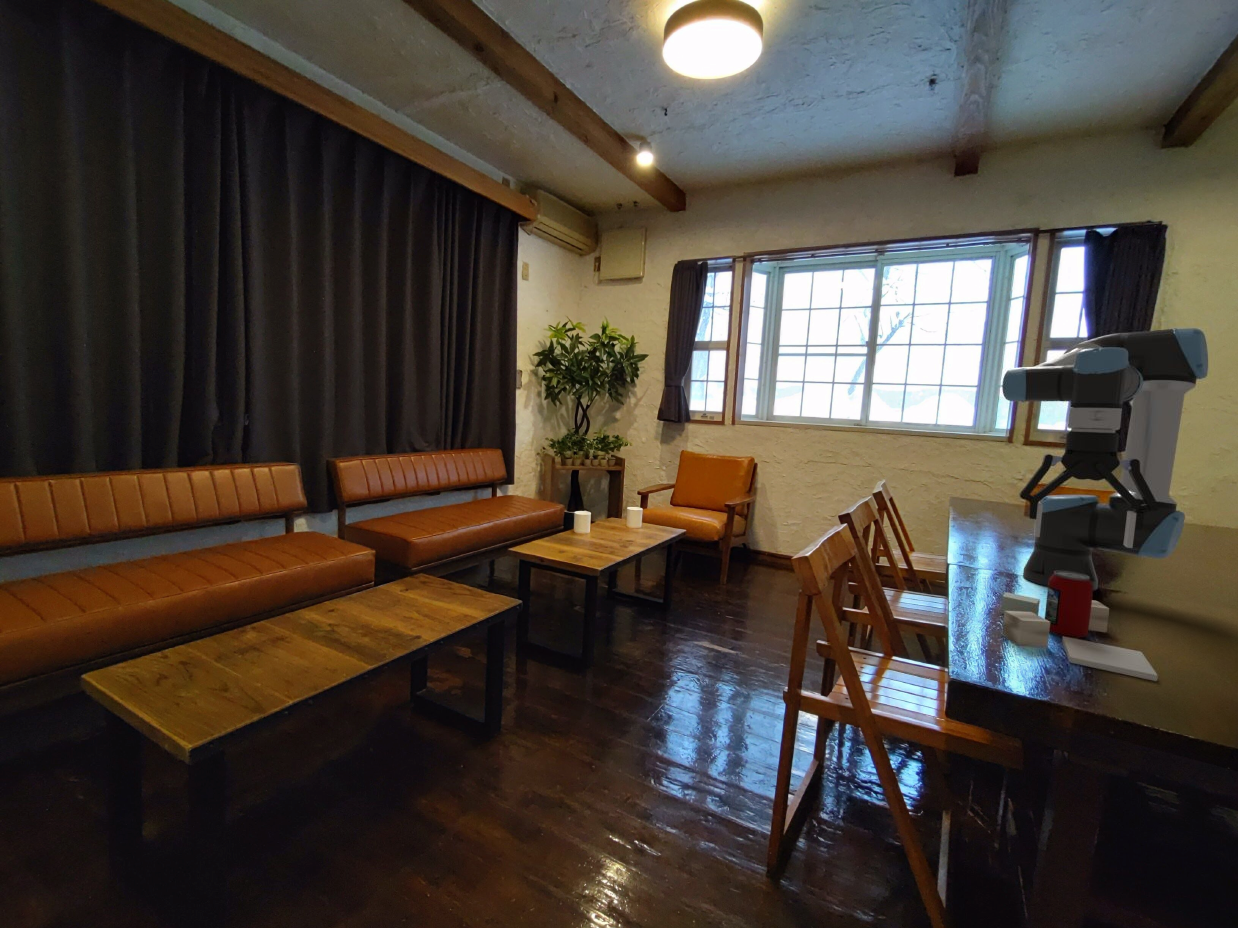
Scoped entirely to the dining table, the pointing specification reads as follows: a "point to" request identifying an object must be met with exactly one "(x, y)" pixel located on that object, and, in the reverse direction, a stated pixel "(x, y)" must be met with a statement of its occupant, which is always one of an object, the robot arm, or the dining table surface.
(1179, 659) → the dining table surface
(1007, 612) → the maple block
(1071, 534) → the robot arm
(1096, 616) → the beech block
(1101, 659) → the plate
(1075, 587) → the beverage can
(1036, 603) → the sage block
